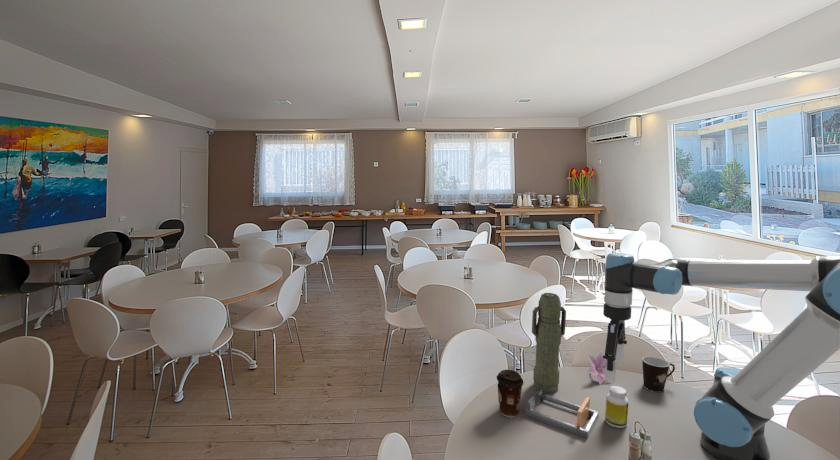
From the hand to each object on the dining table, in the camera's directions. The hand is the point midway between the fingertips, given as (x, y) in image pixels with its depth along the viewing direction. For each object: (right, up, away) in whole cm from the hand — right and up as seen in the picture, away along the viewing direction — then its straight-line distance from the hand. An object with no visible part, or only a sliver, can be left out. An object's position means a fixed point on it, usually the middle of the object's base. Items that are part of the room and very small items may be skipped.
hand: (614, 371), depth 120 cm
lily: (+9, -14, +29) cm, 33 cm away
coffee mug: (+28, -15, +23) cm, 39 cm away
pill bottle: (+1, -17, +2) cm, 17 cm away
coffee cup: (-31, -16, +7) cm, 36 cm away
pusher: (-14, -16, +5) cm, 22 cm away
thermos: (-14, -14, +23) cm, 31 cm away
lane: (-14, -16, +5) cm, 22 cm away
